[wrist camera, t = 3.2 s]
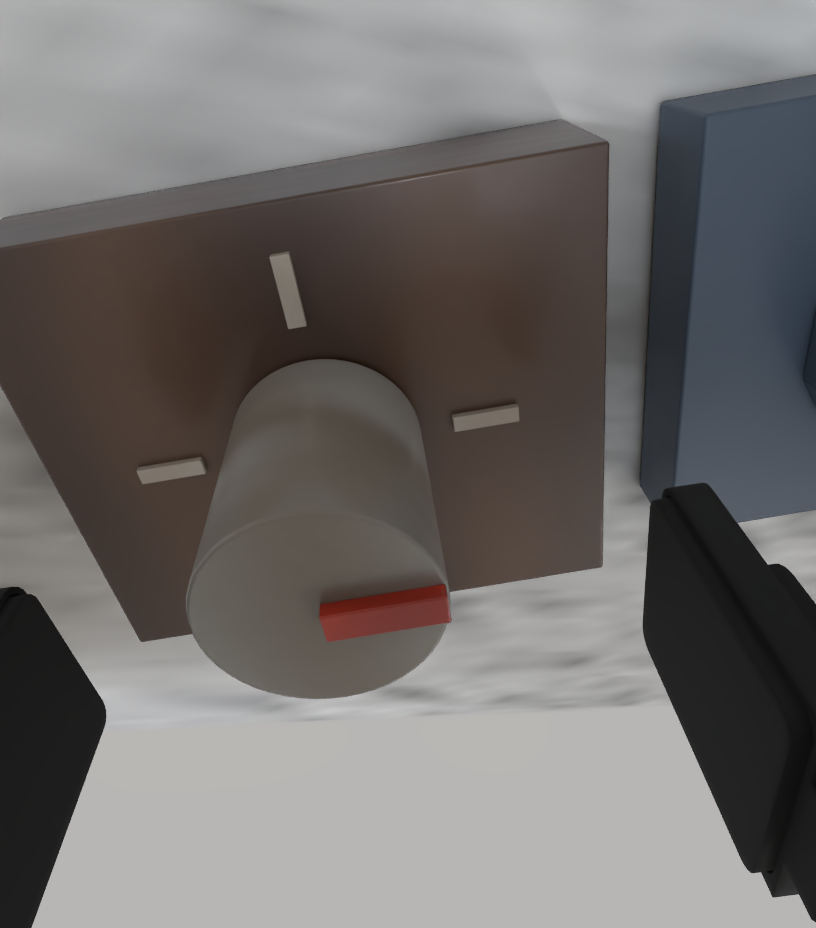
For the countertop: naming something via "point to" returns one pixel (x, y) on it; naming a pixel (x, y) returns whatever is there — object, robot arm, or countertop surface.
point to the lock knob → (321, 538)
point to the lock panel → (324, 344)
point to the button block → (735, 300)
